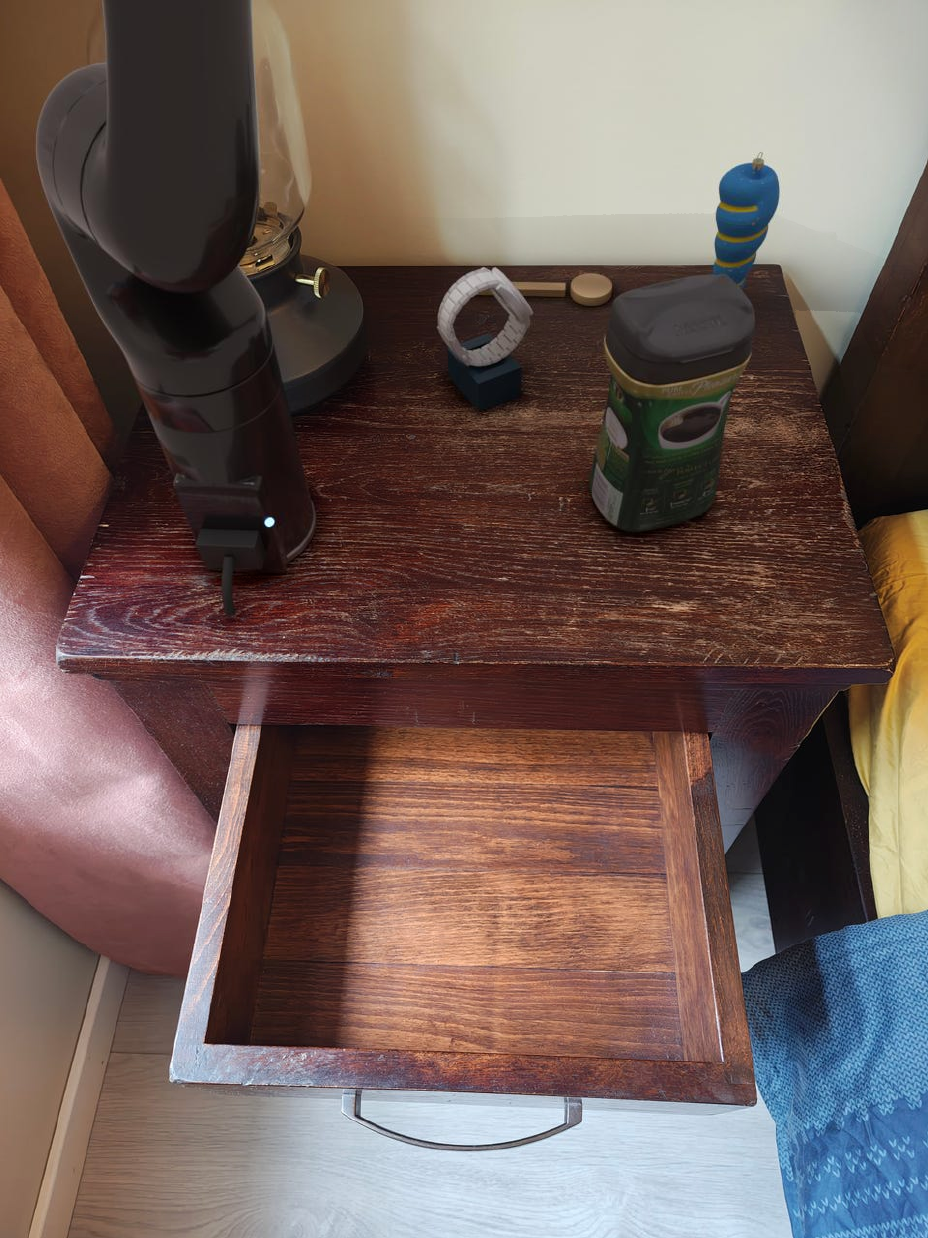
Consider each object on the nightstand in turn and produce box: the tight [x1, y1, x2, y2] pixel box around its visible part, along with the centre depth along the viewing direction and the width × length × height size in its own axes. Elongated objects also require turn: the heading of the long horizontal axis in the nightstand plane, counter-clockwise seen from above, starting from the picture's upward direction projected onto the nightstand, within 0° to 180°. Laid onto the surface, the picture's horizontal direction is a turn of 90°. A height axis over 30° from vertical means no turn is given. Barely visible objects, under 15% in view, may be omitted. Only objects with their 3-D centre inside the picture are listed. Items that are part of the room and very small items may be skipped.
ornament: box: [712, 151, 781, 291], centre depth 81 cm, size 5×5×15 cm
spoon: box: [475, 272, 613, 307], centre depth 89 cm, size 4×14×1 cm, turn 86°
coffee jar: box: [589, 274, 756, 533], centre depth 66 cm, size 10×8×19 cm
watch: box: [436, 266, 534, 413], centre depth 77 cm, size 6×8×11 cm
